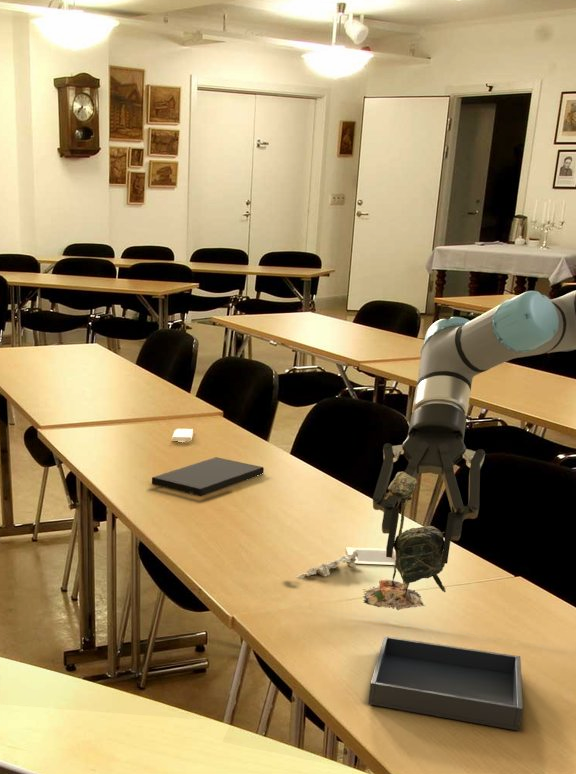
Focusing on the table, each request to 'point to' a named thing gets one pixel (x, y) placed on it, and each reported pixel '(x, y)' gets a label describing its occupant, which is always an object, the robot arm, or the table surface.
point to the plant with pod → (409, 556)
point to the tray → (448, 682)
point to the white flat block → (182, 435)
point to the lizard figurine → (331, 565)
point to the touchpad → (372, 556)
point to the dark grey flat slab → (207, 476)
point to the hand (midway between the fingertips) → (416, 555)
